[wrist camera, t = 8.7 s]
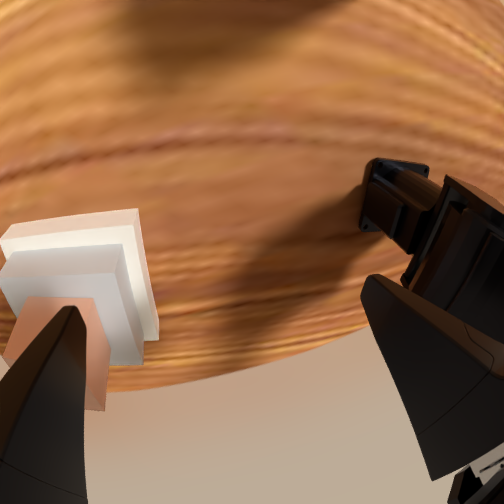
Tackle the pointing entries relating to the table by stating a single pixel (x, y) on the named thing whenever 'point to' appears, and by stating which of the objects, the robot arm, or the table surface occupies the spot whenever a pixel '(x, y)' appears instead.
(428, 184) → the robot arm
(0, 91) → the table surface
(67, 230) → the tower base
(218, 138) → the table surface
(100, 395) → the cube
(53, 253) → the tower top
